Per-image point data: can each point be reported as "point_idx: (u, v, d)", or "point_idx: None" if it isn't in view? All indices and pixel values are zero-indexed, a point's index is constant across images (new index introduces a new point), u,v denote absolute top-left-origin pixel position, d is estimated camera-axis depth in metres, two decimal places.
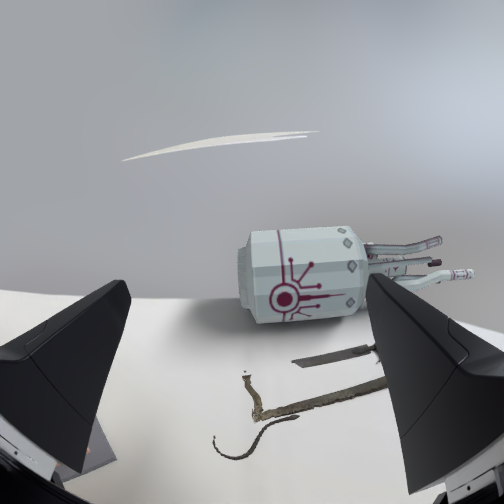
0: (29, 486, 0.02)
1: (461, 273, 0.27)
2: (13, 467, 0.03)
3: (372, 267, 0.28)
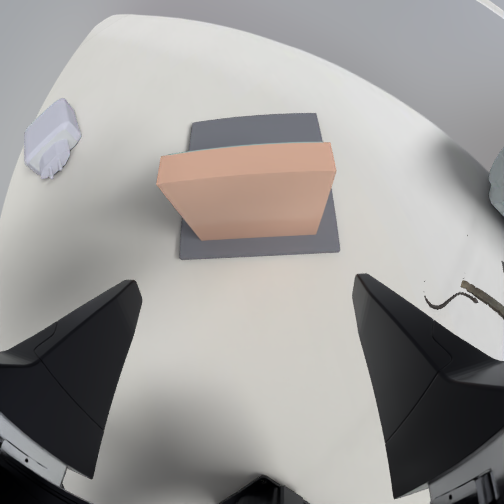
0: (43, 496, 0.02)
1: None
2: (13, 467, 0.03)
3: None
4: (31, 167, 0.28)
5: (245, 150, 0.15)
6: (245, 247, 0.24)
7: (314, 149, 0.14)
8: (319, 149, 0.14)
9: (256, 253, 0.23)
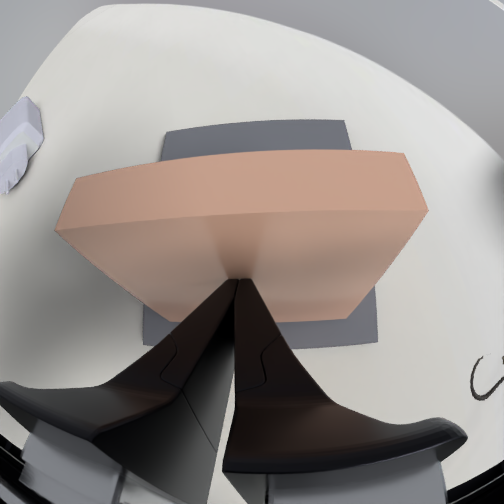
0: None
1: None
2: (13, 467, 0.03)
3: None
4: None
5: (228, 162, 0.07)
6: None
7: (377, 164, 0.06)
8: (387, 164, 0.06)
9: None
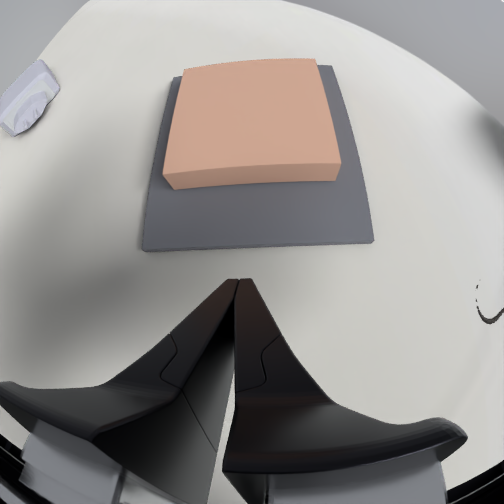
0: None
1: None
2: (13, 467, 0.03)
3: None
4: (5, 127, 0.21)
5: None
6: (235, 234, 0.16)
7: None
8: None
9: (251, 243, 0.16)
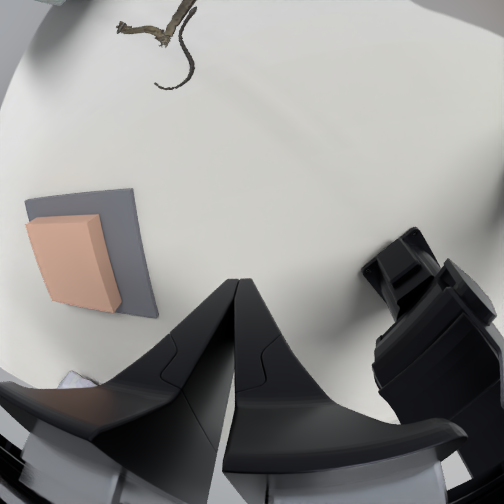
0: None
1: None
2: (13, 467, 0.03)
3: None
4: None
5: None
6: (139, 271, 0.25)
7: None
8: None
9: (142, 263, 0.25)
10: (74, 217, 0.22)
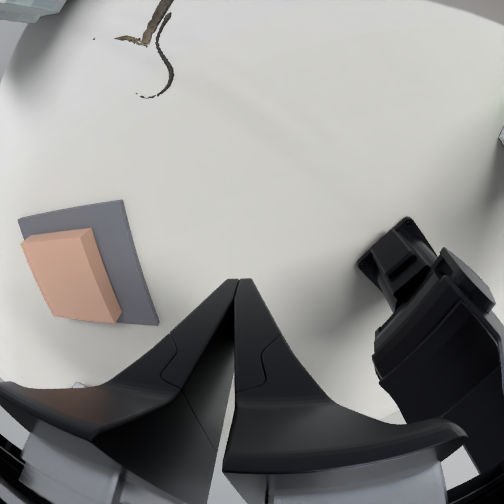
0: None
1: None
2: (13, 467, 0.03)
3: None
4: None
5: None
6: (136, 280, 0.25)
7: None
8: None
9: (138, 272, 0.25)
10: (67, 232, 0.22)
